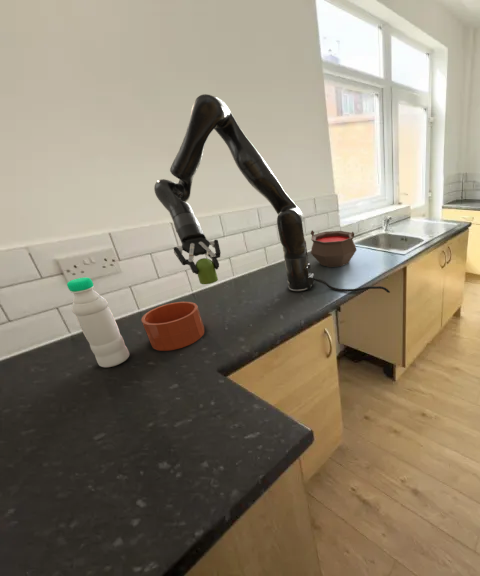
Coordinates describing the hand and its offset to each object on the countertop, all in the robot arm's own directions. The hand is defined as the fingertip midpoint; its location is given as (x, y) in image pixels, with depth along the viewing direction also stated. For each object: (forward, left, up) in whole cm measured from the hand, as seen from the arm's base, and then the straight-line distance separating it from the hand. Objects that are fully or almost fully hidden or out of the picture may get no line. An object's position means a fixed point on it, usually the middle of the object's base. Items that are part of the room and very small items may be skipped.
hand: (207, 270), depth 106 cm
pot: (+7, +14, -17) cm, 23 cm away
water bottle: (+19, +25, -17) cm, 36 cm away
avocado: (+1, -1, -4) cm, 5 cm away
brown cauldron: (-37, -51, -17) cm, 66 cm away
